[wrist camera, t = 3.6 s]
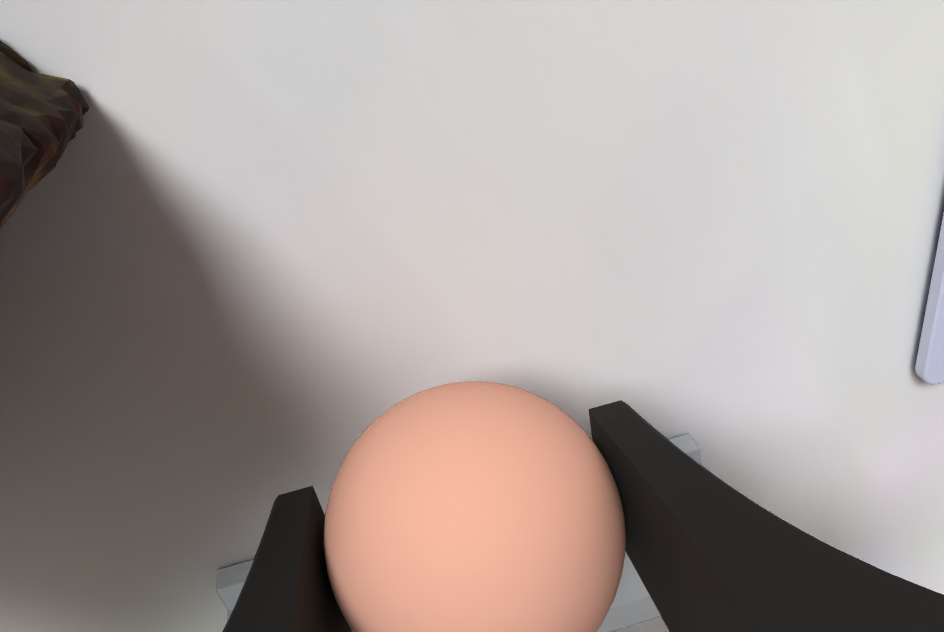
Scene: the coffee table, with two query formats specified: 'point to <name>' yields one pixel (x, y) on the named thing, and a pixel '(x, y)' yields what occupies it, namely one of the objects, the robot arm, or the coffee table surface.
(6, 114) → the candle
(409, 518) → the ball
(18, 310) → the coffee table surface
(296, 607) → the robot arm
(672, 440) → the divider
